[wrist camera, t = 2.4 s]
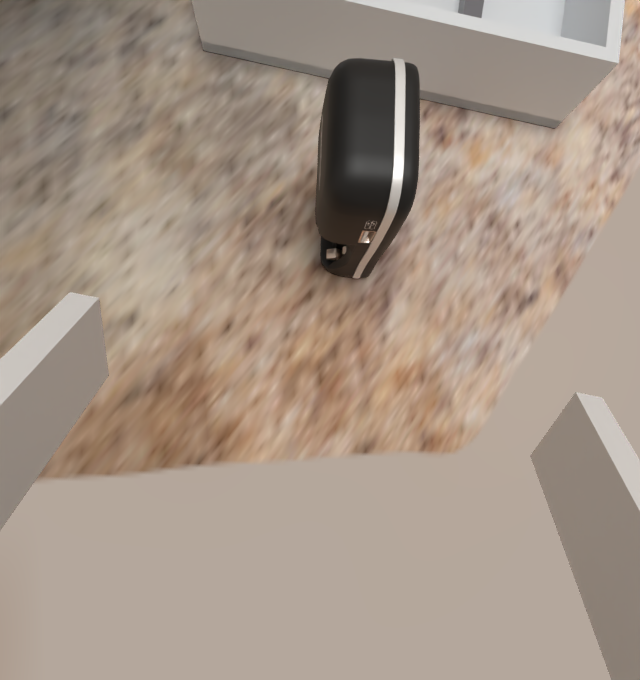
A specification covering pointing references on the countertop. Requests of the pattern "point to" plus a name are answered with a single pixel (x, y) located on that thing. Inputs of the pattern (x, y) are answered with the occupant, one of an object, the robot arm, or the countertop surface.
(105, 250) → the countertop surface
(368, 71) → the battery charger
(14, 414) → the robot arm
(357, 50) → the bin
